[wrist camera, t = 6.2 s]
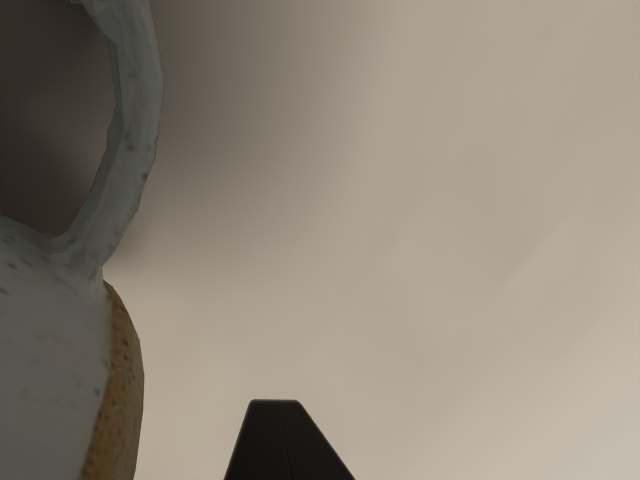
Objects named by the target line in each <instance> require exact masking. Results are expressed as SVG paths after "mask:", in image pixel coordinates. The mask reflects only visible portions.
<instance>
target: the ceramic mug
mask: <svg viewBox="0 0 640 480" xmlns="http://www.w3.org/2000/svg"><path fill="white" fill-rule="evenodd" d="M66 1H68V2H69V3H73V4H82V5H84V7H85V9H86V11H87V13H88V14H89V16H90V17H91V19H92V20H93V21H94V23H95V24H96V26H97V27H98V29H99V30H100V31H101V32H102V33H103V34H104V35H105V36H107V38H108V41H109V51H110V61H111V72H112V79H113V85H114V92H115V99H116V102H115V108H114V113H113V119H112V122H111V124H110V126H109V129H108V135H107V148H106V151H105V153H104V156H103V158H102V161H101V164H100V166H99V169H98V171H97V174H96V176H95V179H94V182H93V185H92V188H91V191H90V194H89V195H88V197H87V199H86V200H85V202H84V204H83V205H82V207H81V209H80V210H79V212H78V214H77V215H76V217H75V219H74V220H73V222H72V224H71V225H70V227H69V229H68V230H67V231H66V232H64V233H63V234H62V235H60V236H58V237H55V238H52V239H49V238H47V237H46V236H44V235H42V234H40V233H39V232H37V231H35V230H33V229H31V228H30V227H28V226H26V225H23V224H21V223H19V222H17V221H15V220H13V219H11V218H8V217H6V216H4V215H2V214H0V480H133V478H134V474H135V470H136V462H137V454H138V446H139V438H140V430H141V422H142V414H143V398H144V371H143V363H142V356H141V348H140V341H139V338H138V335H137V333H136V331H135V328H134V326H133V323H132V321H131V318H130V316H129V314H128V312H127V310H126V308H125V306H124V304H123V302H122V300H121V298H120V296H119V295H118V294H117V292H116V291H115V290H114V288H113V287H112V286H111V285H110V284H108V283H107V282H106V281H104V280H103V275H102V265H103V264H104V263H105V262H106V260H107V259H108V258H109V257H110V255H111V254H112V253H113V252H114V251H115V249H116V247H117V245H118V243H119V241H120V239H121V237H122V235H123V233H124V231H125V230H126V228H127V226H128V224H129V222H130V221H131V219H132V218H133V216H134V215H135V213H136V212H137V210H138V207H139V203H140V199H141V195H142V191H143V187H144V184H145V182H146V179H147V176H148V174H149V172H150V169H151V167H152V165H153V163H154V160H155V153H156V145H157V138H158V131H159V123H160V116H161V110H162V103H163V68H162V63H161V58H160V53H159V48H158V43H157V38H156V33H155V28H154V23H153V18H152V14H151V9H150V5H149V2H148V0H66Z"/></svg>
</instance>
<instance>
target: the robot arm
mask: <svg viewBox="0 0 640 480" xmlns="http://www.w3.org/2000/svg"><path fill="white" fill-rule="evenodd" d="M224 480H355V478H354V477H353V475H352V474H351V473H350V471H349V470H348V469H347V467H346V466H345V464H344V463H343V462H342V460H341V459H340V457H339V456H338V455H337V453H336V452H335V450H334V449H333V448H332V446H331V445H330V443H329V442H328V441H327V439H326V438H325V436H324V435H323V434H322V432H321V431H320V429H319V428H318V427H317V425H316V424H315V422H314V421H313V420H312V418H311V417H310V416H309V414H308V413H307V411H306V410H305V409H304V407H303V406H302V404H301V403H300V402H298V401H297V400H272V399H254V400H251V401H250V403H249V405H248V408H247V411H246V414H245V417H244V420H243V423H242V426H241V429H240V432H239V435H238V438H237V441H236V444H235V447H234V450H233V453H232V456H231V459H230V462H229V465H228V468H227V471H226V474H225V477H224Z"/></svg>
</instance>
